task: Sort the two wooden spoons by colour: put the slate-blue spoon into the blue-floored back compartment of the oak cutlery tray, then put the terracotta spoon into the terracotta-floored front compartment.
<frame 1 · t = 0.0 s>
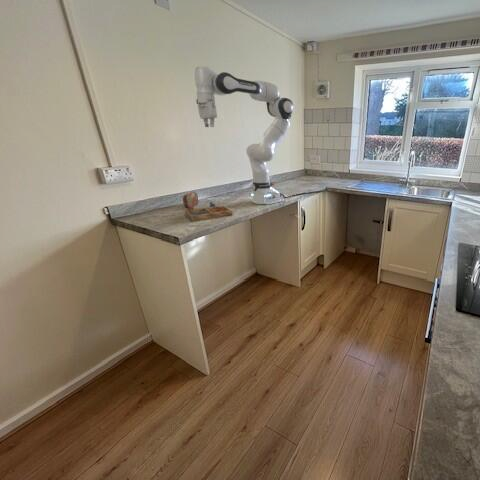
hand: (209, 127, 149), 48 cm above the worktop, tool pointing down, fingers open, 8 cm apart
tin: (191, 206, 169), on the worktop
blue spoon: (213, 208, 166), on the worktop
cutlery tray: (209, 215, 152), on the worktop
terracotta spoon: (191, 211, 158), on the worktop
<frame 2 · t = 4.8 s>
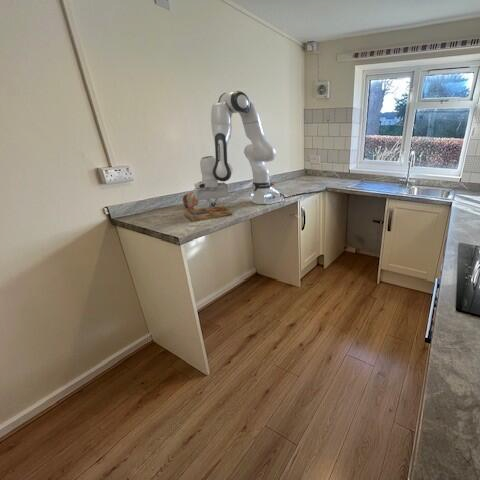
hand: (213, 205, 165), 2 cm above the worktop, tool pointing down, fingers closed on blue spoon
blue spoon: (213, 208, 166), on the worktop, touching gripper
everything else where it was.
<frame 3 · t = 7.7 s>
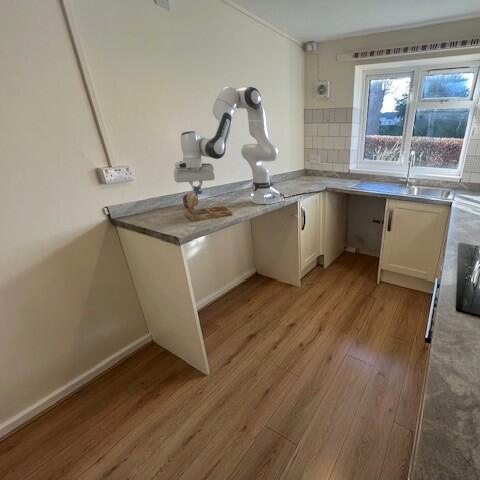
hand: (196, 189, 144), 15 cm above the worktop, tool pointing down, fingers closed on blue spoon
blue spoon: (197, 192, 145), point 13 cm above the worktop, touching gripper
everything else where it was.
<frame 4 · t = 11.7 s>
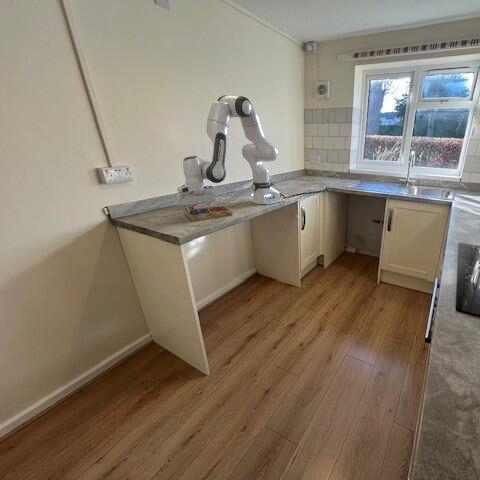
hand: (199, 211, 147), 3 cm above the worktop, tool pointing down, fingers open, 8 cm apart
blue spoon: (199, 215, 148), point 1 cm above the worktop, touching cutlery tray
everything else where it was.
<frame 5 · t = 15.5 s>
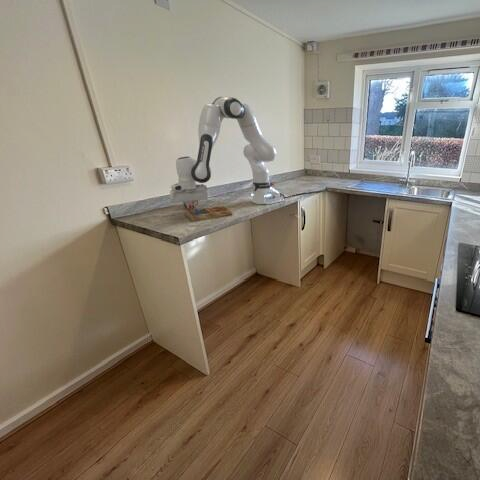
hand: (191, 208, 157), 2 cm above the worktop, tool pointing down, fingers closed on terracotta spoon
terracotta spoon: (192, 211, 158), on the worktop, touching gripper
everything else where it was.
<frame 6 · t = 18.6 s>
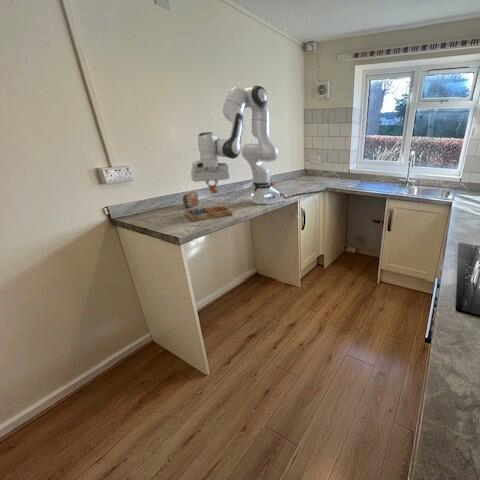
hand: (212, 188, 149), 15 cm above the worktop, tool pointing down, fingers closed on terracotta spoon
terracotta spoon: (212, 191, 150), point 13 cm above the worktop, touching gripper
everything else where it was.
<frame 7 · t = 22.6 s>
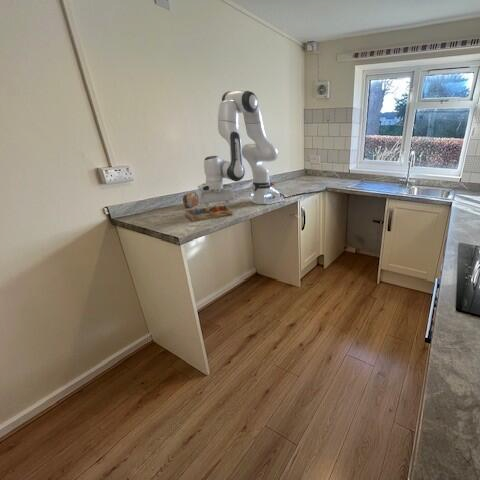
hand: (217, 208, 154), 3 cm above the worktop, tool pointing down, fingers open, 8 cm apart
terracotta spoon: (218, 212, 154), point 1 cm above the worktop, touching cutlery tray
everything else where it was.
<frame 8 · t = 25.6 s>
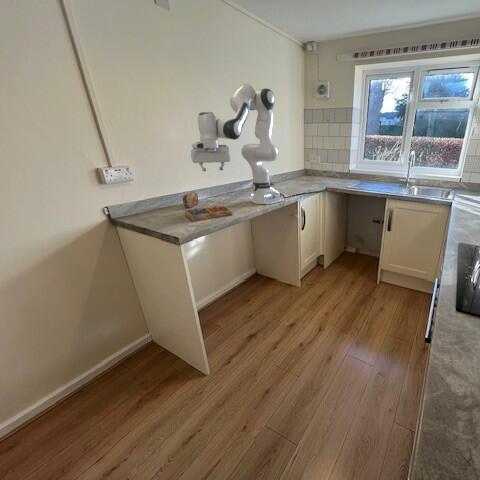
hand: (213, 170, 145), 25 cm above the worktop, tool pointing down, fingers open, 8 cm apart
nothing on the worktop moved.
at the end: blue spoon inside the target area on the cutlery tray (0.2 cm from its centre), point 0.8 cm above the cutlery tray's base; terracotta spoon inside the target area on the cutlery tray (0.4 cm from its centre), point 0.8 cm above the cutlery tray's base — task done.
